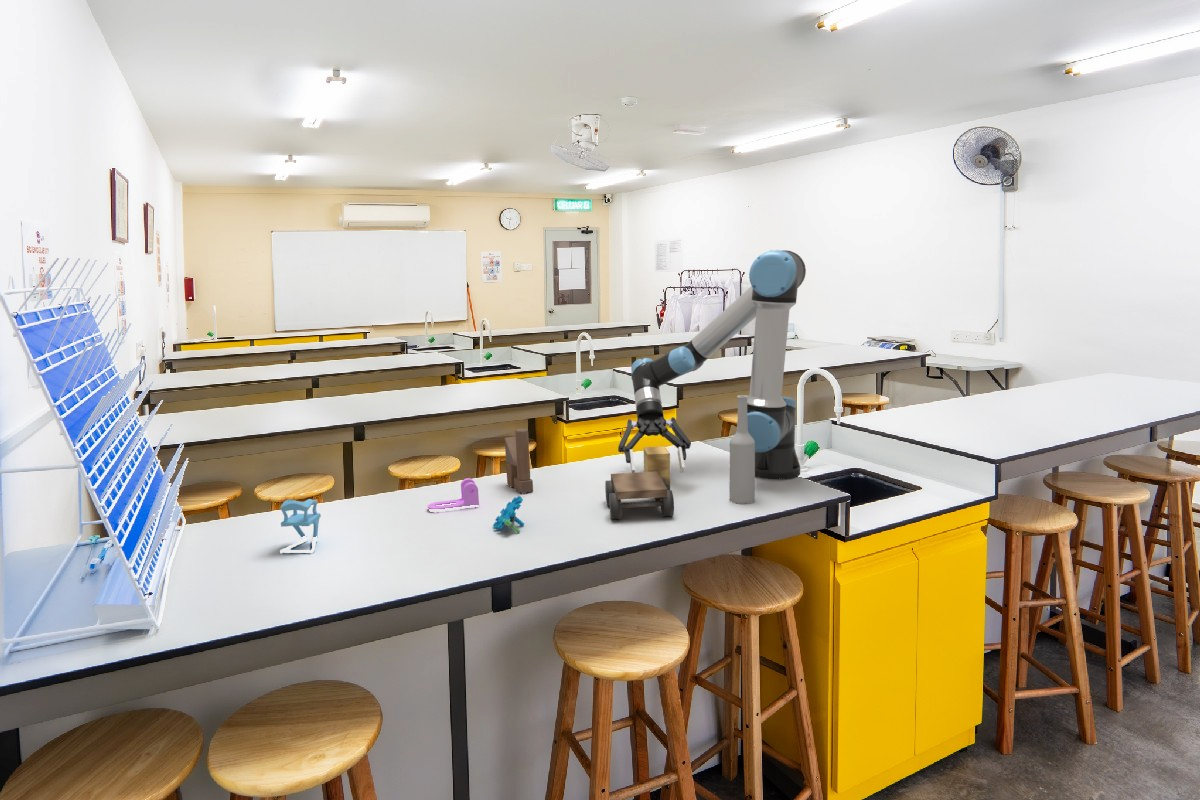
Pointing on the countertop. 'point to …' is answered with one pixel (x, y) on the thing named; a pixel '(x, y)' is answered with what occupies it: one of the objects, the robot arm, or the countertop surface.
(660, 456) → the block
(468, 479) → the bracket
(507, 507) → the gear
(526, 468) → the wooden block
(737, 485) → the bottle
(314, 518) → the chair
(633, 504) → the trolley
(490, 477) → the countertop surface
